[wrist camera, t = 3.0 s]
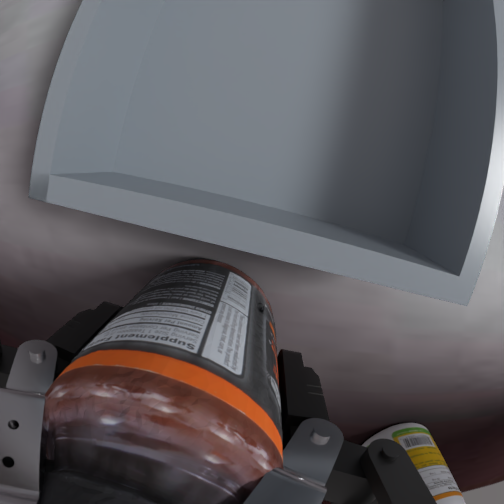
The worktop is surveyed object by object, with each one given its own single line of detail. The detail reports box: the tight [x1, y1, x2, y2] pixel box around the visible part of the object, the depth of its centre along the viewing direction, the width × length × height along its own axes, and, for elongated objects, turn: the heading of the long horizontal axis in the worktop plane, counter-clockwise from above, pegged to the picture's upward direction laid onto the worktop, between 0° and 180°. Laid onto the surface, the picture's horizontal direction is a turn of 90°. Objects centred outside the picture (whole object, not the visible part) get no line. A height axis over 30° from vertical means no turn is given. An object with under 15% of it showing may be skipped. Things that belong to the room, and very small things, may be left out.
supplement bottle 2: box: [362, 423, 466, 504], centre depth 11 cm, size 5×5×10 cm
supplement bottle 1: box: [41, 259, 284, 504], centre depth 8 cm, size 6×6×11 cm
